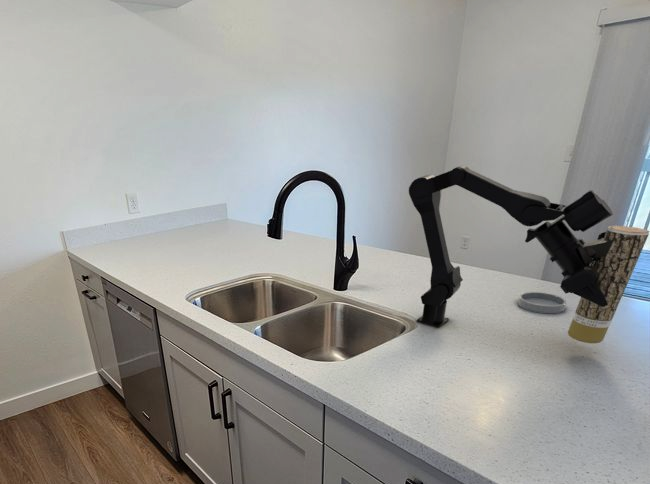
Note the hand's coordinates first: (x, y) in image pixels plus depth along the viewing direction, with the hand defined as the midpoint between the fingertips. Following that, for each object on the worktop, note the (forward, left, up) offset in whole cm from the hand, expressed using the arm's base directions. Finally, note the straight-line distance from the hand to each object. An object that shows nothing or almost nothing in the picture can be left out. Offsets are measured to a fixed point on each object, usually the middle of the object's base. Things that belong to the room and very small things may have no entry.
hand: (606, 300), depth 96 cm
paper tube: (-1, +2, -10) cm, 10 cm away
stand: (+25, +17, -13) cm, 33 cm away
